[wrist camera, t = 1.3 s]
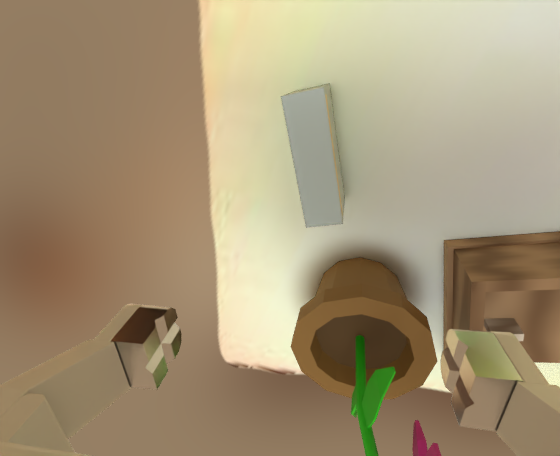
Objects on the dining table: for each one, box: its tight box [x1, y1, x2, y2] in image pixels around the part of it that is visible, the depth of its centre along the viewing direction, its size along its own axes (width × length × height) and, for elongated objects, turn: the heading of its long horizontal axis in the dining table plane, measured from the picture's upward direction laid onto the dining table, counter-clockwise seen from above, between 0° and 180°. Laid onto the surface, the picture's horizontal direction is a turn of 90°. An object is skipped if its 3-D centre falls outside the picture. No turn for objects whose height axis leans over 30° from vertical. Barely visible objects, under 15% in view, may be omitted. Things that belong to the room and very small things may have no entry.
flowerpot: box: [291, 257, 441, 456], centre depth 28 cm, size 14×14×30 cm
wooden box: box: [444, 232, 560, 363], centre depth 33 cm, size 20×17×8 cm
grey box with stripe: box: [281, 83, 345, 227], centre depth 31 cm, size 12×4×7 cm, turn 12°
